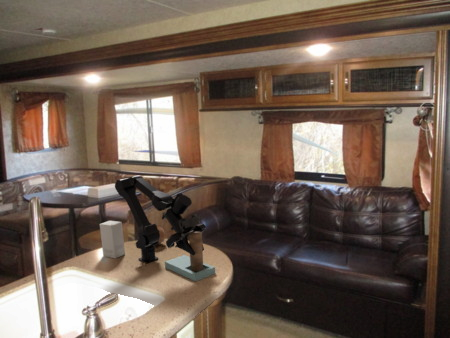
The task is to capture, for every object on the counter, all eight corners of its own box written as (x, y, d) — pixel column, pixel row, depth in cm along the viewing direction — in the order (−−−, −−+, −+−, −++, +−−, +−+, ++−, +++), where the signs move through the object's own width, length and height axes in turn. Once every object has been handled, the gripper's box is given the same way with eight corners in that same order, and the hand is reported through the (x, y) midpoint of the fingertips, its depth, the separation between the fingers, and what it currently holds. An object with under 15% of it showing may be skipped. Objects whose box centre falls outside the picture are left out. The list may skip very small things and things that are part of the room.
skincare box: (125, 254, 165) (123, 221, 163) (114, 259, 159) (111, 225, 157) (113, 251, 169) (110, 219, 167) (101, 256, 164) (99, 223, 162)
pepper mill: (188, 271, 140) (186, 234, 138) (194, 267, 144) (193, 231, 142) (199, 273, 137) (197, 236, 135) (205, 269, 142) (204, 232, 140)
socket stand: (165, 267, 148) (164, 261, 148) (184, 260, 155) (184, 254, 155) (195, 281, 134) (195, 275, 133) (215, 273, 141) (215, 267, 140)
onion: (155, 240, 183) (154, 221, 182) (169, 243, 178) (168, 223, 177) (142, 246, 175) (141, 226, 174) (157, 249, 170) (155, 229, 169)
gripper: (169, 214, 132) (193, 248, 127) (202, 204, 147) (224, 234, 142) (156, 231, 138) (178, 264, 133) (188, 220, 153) (209, 249, 148)
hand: (198, 252), depth 139 cm, fingers closed on pepper mill, 5 cm apart
